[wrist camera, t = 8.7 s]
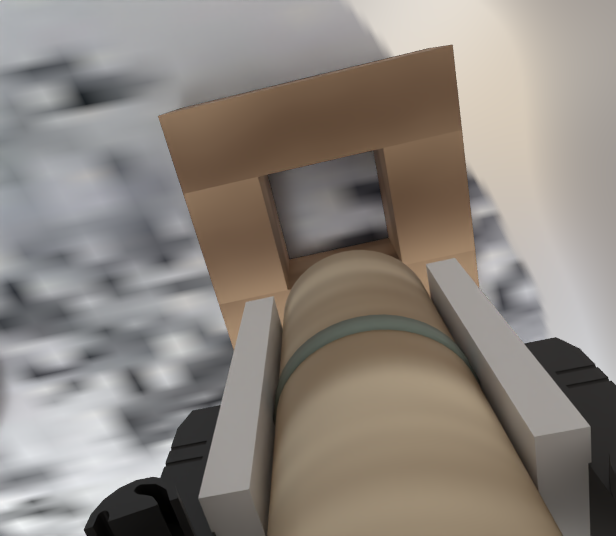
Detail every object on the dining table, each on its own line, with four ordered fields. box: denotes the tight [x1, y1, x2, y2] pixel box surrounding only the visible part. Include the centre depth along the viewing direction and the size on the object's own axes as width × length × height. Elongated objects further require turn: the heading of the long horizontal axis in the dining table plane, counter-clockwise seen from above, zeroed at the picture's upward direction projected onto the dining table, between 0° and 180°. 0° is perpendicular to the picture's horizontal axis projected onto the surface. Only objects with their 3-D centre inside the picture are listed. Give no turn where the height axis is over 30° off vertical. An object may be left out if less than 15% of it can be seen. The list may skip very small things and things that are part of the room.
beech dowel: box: [267, 250, 563, 536], centre depth 9 cm, size 4×4×11 cm
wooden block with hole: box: [158, 45, 479, 349], centre depth 24 cm, size 18×12×6 cm, turn 13°
